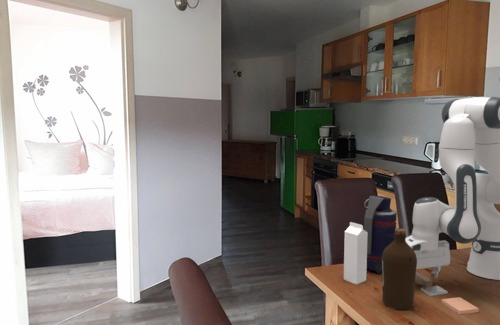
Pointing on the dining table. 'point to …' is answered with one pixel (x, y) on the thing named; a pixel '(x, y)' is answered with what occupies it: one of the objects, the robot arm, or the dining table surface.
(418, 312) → the dining table surface
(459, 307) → the tile
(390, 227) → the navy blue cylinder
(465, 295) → the dining table surface
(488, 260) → the robot arm
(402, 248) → the olive oil
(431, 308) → the dining table surface
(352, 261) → the milk
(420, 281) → the turner
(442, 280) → the dining table surface
